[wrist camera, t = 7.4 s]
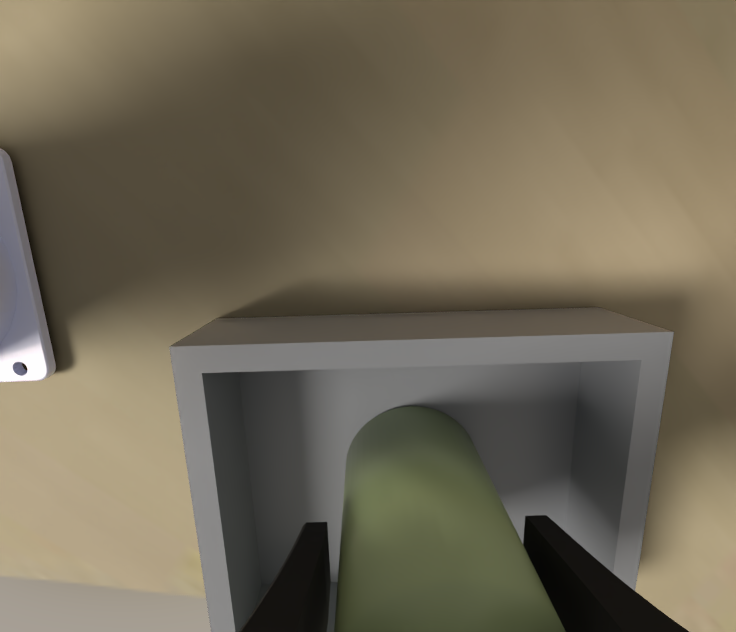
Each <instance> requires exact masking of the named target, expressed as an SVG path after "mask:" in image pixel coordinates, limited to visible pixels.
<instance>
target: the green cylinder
mask: <svg viewBox="0 0 736 632" xmlns="http://www.w3.org/2000/svg"><path fill="white" fill-rule="evenodd" d="M334 632H566V631H565V629H564V627H563V625H562V623H561V621H560V619H559V617H558V615H557V613H556V611H555V609H554V607H553V605H552V603H551V601H550V599H549V597H548V595H547V593H546V590H545V588H544V586H543V584H542V582H541V580H540V578H539V576H538V574H537V572H536V570H535V568H534V566H533V564H532V562H531V560H530V558H529V556H528V554H527V552H526V550H525V548H524V546H523V544H522V542H521V540H520V537H519V535H518V533H517V531H516V529H515V527H514V525H513V523H512V521H511V519H510V517H509V515H508V513H507V511H506V509H505V507H504V505H503V503H502V501H501V499H500V497H499V495H498V493H497V491H496V489H495V486H494V484H493V482H492V480H491V478H490V476H489V474H488V472H487V470H486V468H485V466H484V464H483V462H482V460H481V458H480V456H479V454H478V452H477V450H476V448H475V446H474V444H473V442H472V440H471V438H470V436H469V434H468V433H467V431H466V430H465V429H464V428H463V427H462V426H461V425H460V424H459V423H458V422H457V421H456V420H455V419H453V418H452V417H450V416H449V415H447V414H445V413H443V412H440V411H438V410H435V409H431V408H427V407H419V406H408V407H400V408H396V409H392V410H389V411H386V412H384V413H382V414H380V415H378V416H376V417H374V418H373V419H371V420H370V421H369V422H367V423H366V424H365V425H364V426H363V427H362V428H361V429H360V430H359V432H358V433H357V434H356V436H355V437H354V439H353V440H352V442H351V445H350V447H349V450H348V453H347V459H346V470H345V484H344V498H343V512H342V527H341V541H340V555H339V569H338V583H337V598H336V612H335V626H334Z"/></svg>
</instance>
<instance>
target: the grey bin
mask: <svg viewBox="0 0 736 632" xmlns="http://www.w3.org/2000/svg"><path fill="white" fill-rule="evenodd" d="M673 335H674V332H673V331H670V330H667V329H664V328H661V327H658V326H655V325H652V324H649V323H646V322H642V321H639V320H636V319H633V318H630V317H627V316H624V315H621V314H618V313H615V312H612V311H609V310H606V309H603V308H600V307H589V308H555V309H521V310H487V311H453V312H419V313H385V314H351V315H317V316H283V317H249V318H217V319H215V320H213V321H212V322H210V323H208V324H207V325H205V326H203V327H202V328H200V329H198V330H197V331H195V332H193V333H192V334H190V335H188V336H187V337H185V338H183V339H181V340H180V341H178V342H176V343H175V344H173V345H171V346H170V347H169V348H170V355H171V362H172V368H173V375H174V382H175V389H176V396H177V402H178V409H179V416H180V423H181V430H182V436H183V443H184V450H185V457H186V464H187V470H188V477H189V484H190V491H191V498H192V504H193V511H194V518H195V525H196V532H197V538H198V545H199V552H200V559H201V566H202V572H203V579H204V586H205V593H206V600H207V606H208V613H209V619H210V627H211V632H239V631H240V629H241V628H242V627H243V625H244V624H245V622H246V621H247V620H248V618H249V617H250V615H251V614H252V612H253V611H254V609H255V608H256V606H257V605H258V603H259V602H260V600H261V599H262V597H263V596H264V594H265V593H266V591H267V590H268V588H269V587H270V585H271V583H272V582H273V580H274V578H275V577H276V575H277V573H278V572H279V570H280V568H281V567H282V565H283V563H284V562H285V560H286V558H287V556H288V554H289V553H290V551H291V549H292V547H293V545H294V543H295V541H296V539H297V537H298V535H299V533H300V531H301V529H302V526H303V525H304V524H305V523H306V522H327V526H328V543H329V559H330V576H331V585H330V601H329V615H328V626H327V632H334V626H335V612H336V598H337V583H338V569H339V555H340V541H341V527H342V512H343V498H344V484H345V470H346V459H347V453H348V450H349V447H350V445H351V442H352V440H353V439H354V437H355V436H356V434H357V433H358V432H359V430H360V429H361V428H362V427H363V426H364V425H365V424H366V423H367V422H369V421H370V420H371V419H373V418H374V417H376V416H378V415H380V414H382V413H384V412H386V411H389V410H392V409H396V408H400V407H408V406H419V407H427V408H431V409H435V410H438V411H440V412H443V413H445V414H447V415H449V416H450V417H452V418H453V419H455V420H456V421H457V422H458V423H459V424H460V425H461V426H462V427H463V428H464V429H465V430H466V431H467V433H468V434H469V436H470V438H471V440H472V442H473V444H474V446H475V448H476V450H477V452H478V454H479V456H480V458H481V460H482V462H483V464H484V466H485V468H486V470H487V472H488V474H489V476H490V478H491V480H492V482H493V484H494V486H495V489H496V491H497V493H498V495H499V497H500V499H501V501H502V503H503V505H504V507H505V509H506V511H507V513H508V515H509V517H510V519H511V521H512V523H513V525H514V527H515V529H516V531H517V533H518V535H519V537H520V540H521V542H522V544H523V540H524V526H525V516H534V515H547V516H548V517H549V518H550V519H551V520H553V521H554V522H555V523H556V524H557V525H558V526H559V527H560V528H562V529H563V530H564V531H565V532H566V533H567V534H568V535H569V536H571V537H572V538H573V539H574V540H575V541H576V542H577V543H578V544H580V545H581V546H582V547H583V548H584V549H585V550H586V551H588V552H589V553H590V554H591V555H592V556H593V557H594V558H596V559H597V560H598V561H599V562H600V563H601V564H603V565H604V566H605V567H606V568H607V569H608V570H610V571H611V572H612V573H613V574H614V575H616V576H617V577H618V578H619V579H620V580H622V581H623V582H624V583H625V584H627V585H628V586H629V587H630V588H632V589H633V590H634V591H635V588H636V581H637V574H638V568H639V561H640V554H641V548H642V541H643V534H644V528H645V521H646V514H647V508H648V501H649V494H650V488H651V481H652V474H653V468H654V461H655V454H656V448H657V441H658V435H659V428H660V421H661V415H662V408H663V401H664V395H665V388H666V381H667V375H668V368H669V361H670V355H671V348H672V341H673Z"/></svg>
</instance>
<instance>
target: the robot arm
mask: <svg viewBox="0 0 736 632" xmlns="http://www.w3.org/2000/svg"><path fill="white" fill-rule="evenodd" d="M22 363H24V364H25V365H26V366H27V368H28V370H25V369H24V368H23V366H22ZM55 370H56V364H55V359H54V355H53V350H52V346H51V341H50V336H49V332H48V327H47V322H46V318H45V313H44V309H43V304H42V299H41V295H40V290H39V286H38V281H37V276H36V272H35V267H34V262H33V258H32V253H31V249H30V244H29V239H28V235H27V230H26V225H25V221H24V216H23V212H22V207H21V202H20V198H19V193H18V189H17V184H16V179H15V175H14V170H13V165H12V161H11V159H10V157H9V155H8V154H7V153H6V152H5V151H4V150H3V149H1V148H0V382H16V381H40V380H44V379H46V378H48V377H50V376H51V375H53V374H54V372H55ZM523 546H524V548H525V550H526V552H527V554H528V556H529V558H530V560H531V562H532V564H533V566H534V568H535V570H536V572H537V574H538V576H539V578H540V580H541V582H542V584H543V586H544V588H545V590H546V593H547V595H548V597H549V599H550V601H551V603H552V605H553V607H554V609H555V611H556V613H557V615H558V617H559V619H560V621H561V623H562V625H563V627H564V629H565V631H566V632H689V631H687V630H686V629H685V628H683V627H682V626H680V625H679V624H677V623H676V622H675V621H673V620H672V619H671V618H669V617H668V616H666V615H665V614H664V613H662V612H661V611H660V610H658V609H657V608H656V607H655V606H653V605H652V604H651V603H649V602H648V601H647V600H646V599H644V598H643V597H642V596H640V595H639V594H638V593H637V592H635V591H634V590H633V589H632V588H630V587H629V586H628V585H627V584H625V583H624V582H623V581H622V580H620V579H619V578H618V577H617V576H616V575H614V574H613V573H612V572H611V571H610V570H608V569H607V568H606V567H605V566H604V565H603V564H601V563H600V562H599V561H598V560H597V559H596V558H594V557H593V556H592V555H591V554H590V553H589V552H588V551H586V550H585V549H584V548H583V547H582V546H581V545H580V544H578V543H577V542H576V541H575V540H574V539H573V538H572V537H571V536H569V535H568V534H567V533H566V532H565V531H564V530H563V529H562V528H560V527H559V526H558V525H557V524H556V523H555V522H554V521H553V520H551V519H550V518H549V517H548V516H547V515H534V516H525V526H524V540H523ZM330 585H331V576H330V559H329V543H328V526H327V522H306V523H305V524H304V525H303V526H302V529H301V531H300V533H299V535H298V537H297V539H296V541H295V543H294V545H293V547H292V549H291V551H290V553H289V554H288V556H287V558H286V560H285V562H284V563H283V565H282V567H281V568H280V570H279V572H278V573H277V575H276V577H275V578H274V580H273V582H272V583H271V585H270V587H269V588H268V590H267V591H266V593H265V594H264V596H263V597H262V599H261V600H260V602H259V603H258V605H257V606H256V608H255V609H254V611H253V612H252V614H251V615H250V617H249V618H248V620H247V621H246V622H245V624H244V625H243V627H242V628H241V629H240V631H239V632H327V626H328V615H329V601H330Z"/></svg>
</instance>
